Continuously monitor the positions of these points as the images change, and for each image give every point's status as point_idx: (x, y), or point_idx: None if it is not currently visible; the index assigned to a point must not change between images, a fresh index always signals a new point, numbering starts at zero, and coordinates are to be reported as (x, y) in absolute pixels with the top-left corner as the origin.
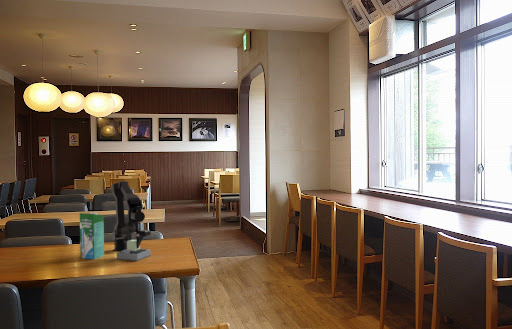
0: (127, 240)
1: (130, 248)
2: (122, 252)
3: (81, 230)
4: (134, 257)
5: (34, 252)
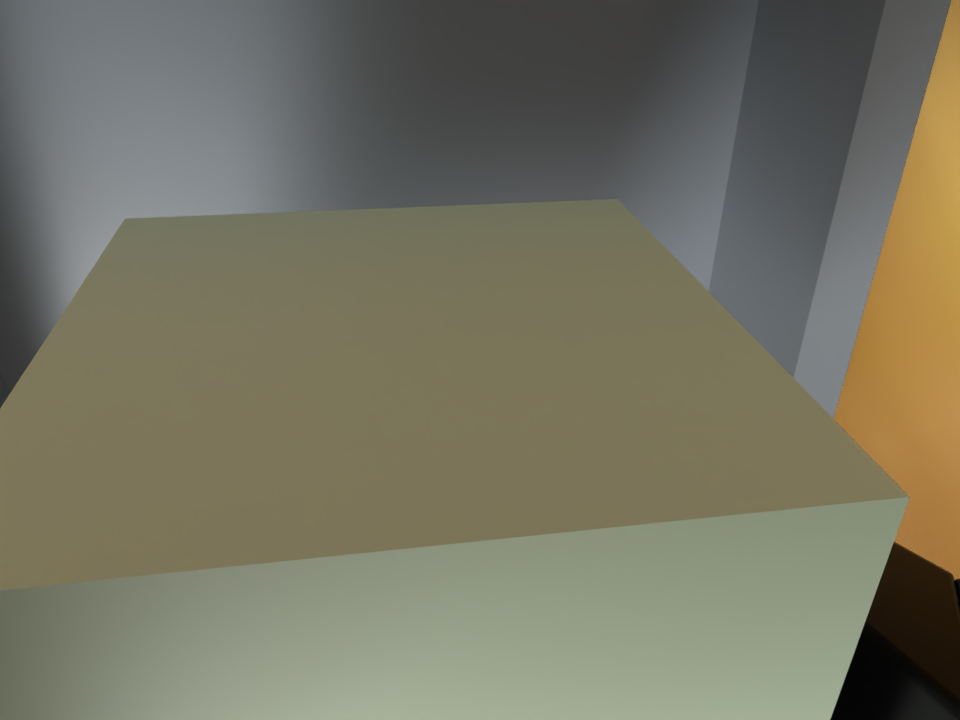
0: (949, 669)
1: (420, 246)
2: (813, 167)
3: None
4: None
5: None
